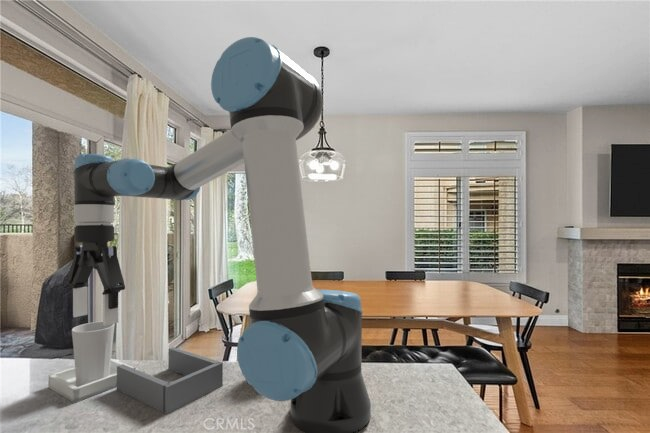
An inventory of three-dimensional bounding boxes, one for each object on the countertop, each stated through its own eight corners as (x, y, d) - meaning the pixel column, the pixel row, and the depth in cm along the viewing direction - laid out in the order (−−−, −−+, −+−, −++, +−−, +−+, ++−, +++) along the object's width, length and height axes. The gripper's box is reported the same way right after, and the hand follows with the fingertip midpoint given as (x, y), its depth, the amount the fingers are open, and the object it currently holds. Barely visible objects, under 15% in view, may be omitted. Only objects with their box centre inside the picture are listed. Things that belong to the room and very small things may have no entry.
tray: (135, 379, 80) (135, 368, 80) (74, 403, 69) (74, 389, 69) (107, 367, 86) (107, 356, 86) (48, 387, 76) (48, 375, 76)
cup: (92, 390, 73) (93, 333, 73) (61, 387, 74) (62, 330, 75) (122, 374, 81) (122, 322, 81) (93, 371, 82) (93, 320, 82)
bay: (222, 385, 77) (222, 362, 77) (166, 414, 65) (167, 387, 65) (172, 367, 86) (173, 347, 86) (116, 389, 75) (116, 366, 75)
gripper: (142, 223, 75) (143, 323, 74) (86, 225, 88) (86, 309, 87) (105, 223, 68) (105, 332, 68) (50, 225, 82) (50, 316, 81)
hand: (94, 319), depth 78 cm, fingers open, 13 cm apart
